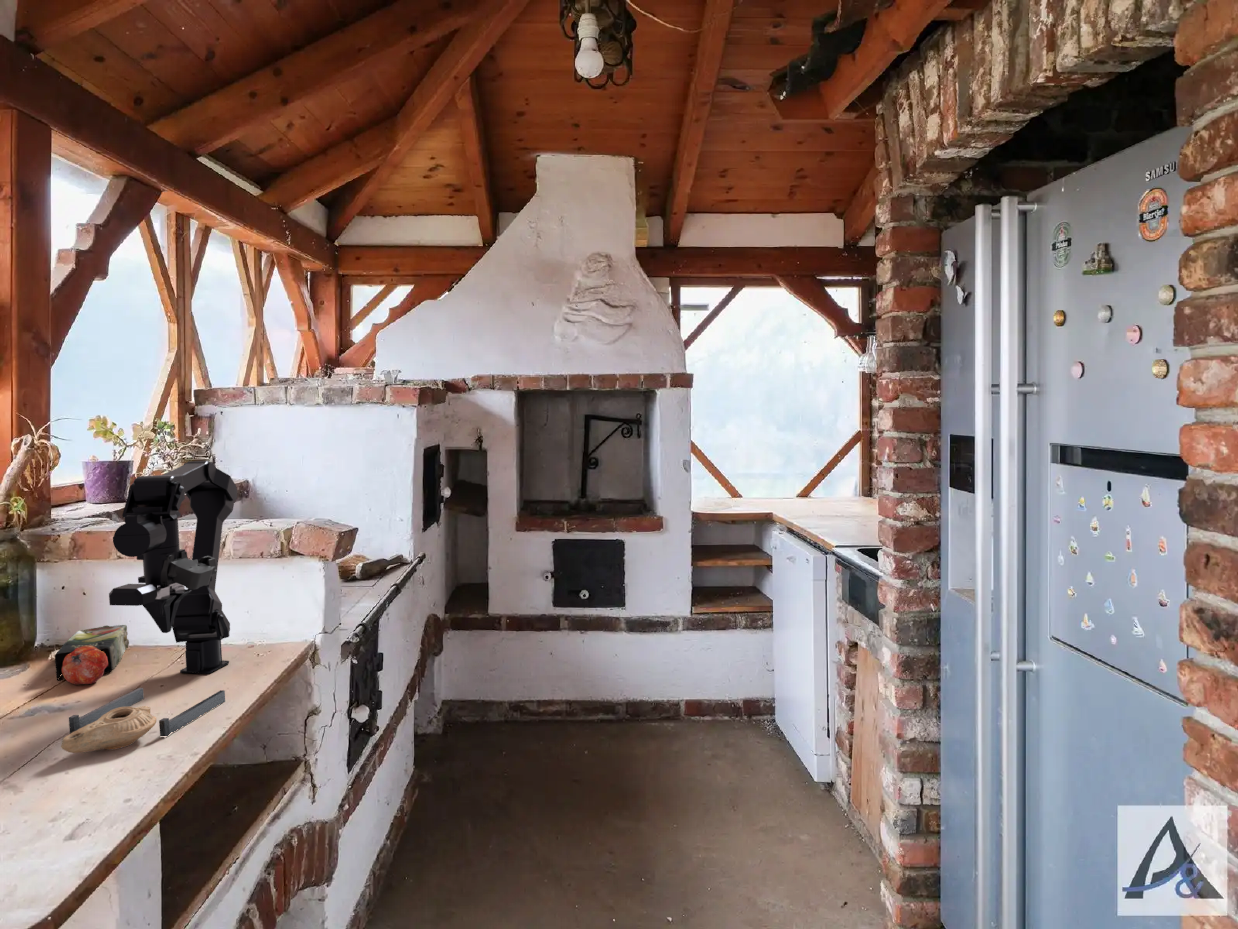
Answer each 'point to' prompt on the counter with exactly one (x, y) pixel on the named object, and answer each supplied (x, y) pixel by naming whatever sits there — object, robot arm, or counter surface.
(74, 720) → the steel chute
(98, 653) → the red round fruit
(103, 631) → the juice carton
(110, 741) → the pottery oil lamp
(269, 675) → the counter surface
